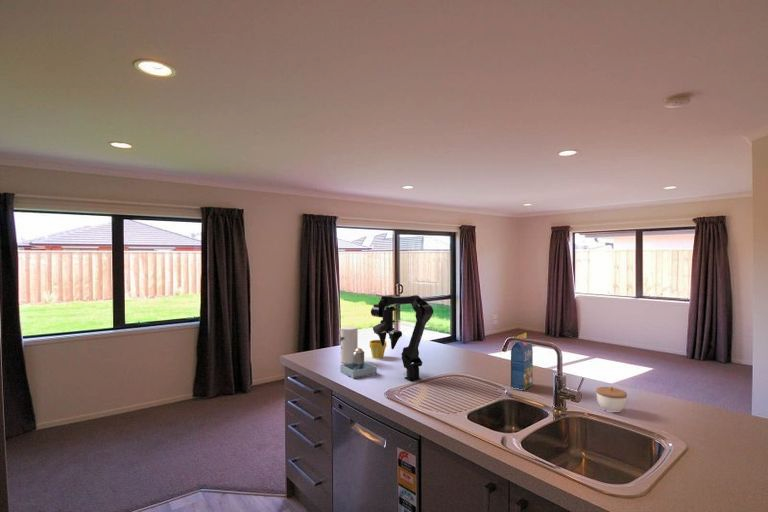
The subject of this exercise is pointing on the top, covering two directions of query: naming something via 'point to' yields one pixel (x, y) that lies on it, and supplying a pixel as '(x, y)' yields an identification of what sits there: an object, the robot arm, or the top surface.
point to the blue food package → (521, 364)
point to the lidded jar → (611, 398)
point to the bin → (367, 370)
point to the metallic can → (358, 359)
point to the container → (348, 343)
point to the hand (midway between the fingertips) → (387, 347)
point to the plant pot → (377, 348)
